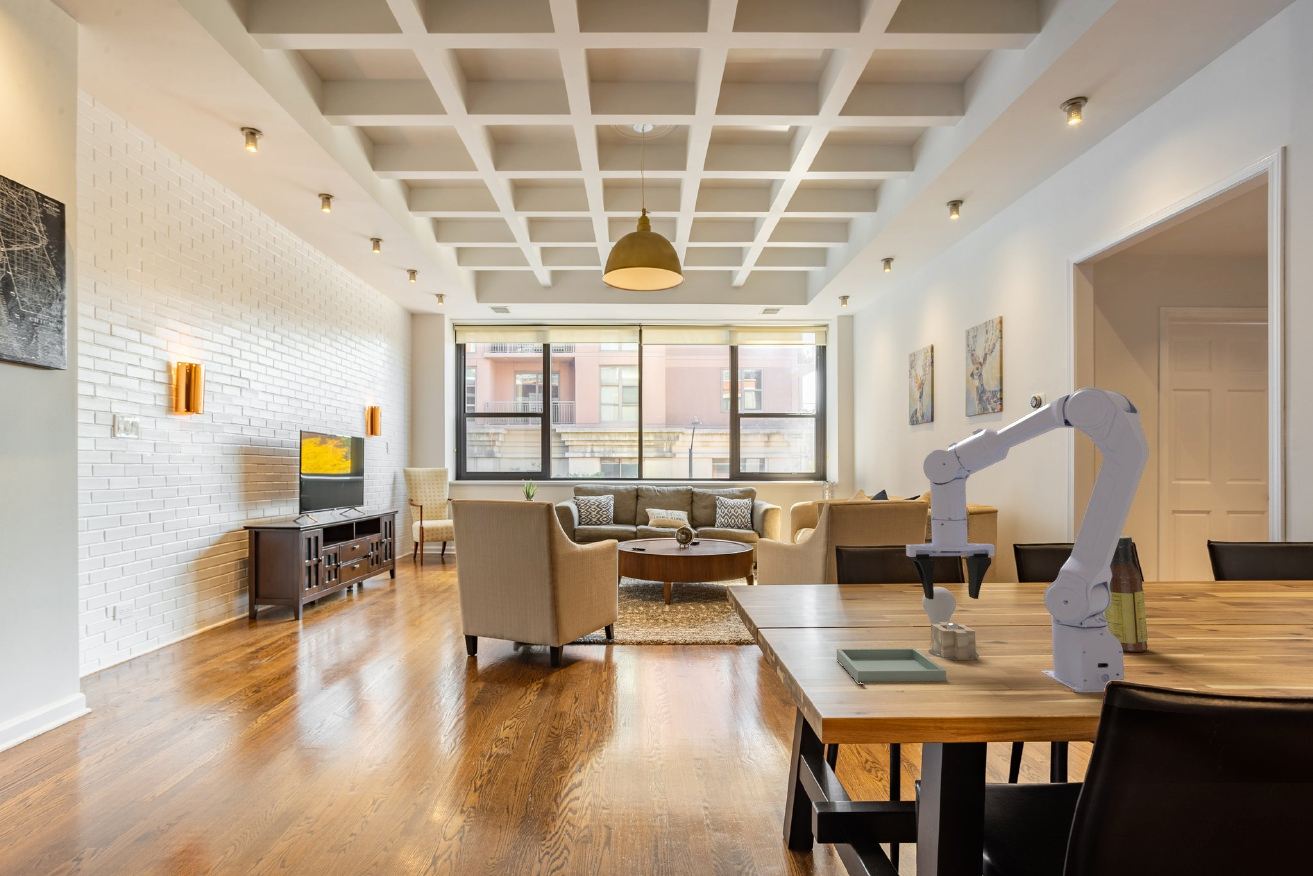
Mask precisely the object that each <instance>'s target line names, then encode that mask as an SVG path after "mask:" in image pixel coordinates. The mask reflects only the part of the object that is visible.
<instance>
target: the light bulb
mask: <svg viewBox="0 0 1313 876" xmlns="http://www.w3.org/2000/svg"><path fill="white" fill-rule="evenodd" d="M933 589H934V598H933V599H927V598H925V594H923V595H922V599H921V601H922V602H921V603H922V608H923V609H924V611H925V613H926V614H927V617H928V620H929V623H930V625H931V624H938V622H948V623H950V621H951V617H952V615H953V614H954V612H955V611H956V609H957V608H956V607H957V601H956V598H955V596H954V595H953V593H952V592H951V591H950V590H948V589H947V588H945V587H943V586H933Z"/></svg>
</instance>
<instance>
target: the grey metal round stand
mask: <svg viewBox="0 0 1313 876" xmlns="http://www.w3.org/2000/svg"><path fill="white" fill-rule="evenodd" d="M958 624H959V623H958V622H957V623H956V622H949V623H947V629H958ZM928 653H929V654H930V655H931V656H935V657H936V658H941V659H946V660H947V659H948V660H958V659H957V658H955V657H942V656H941V655H939V654H938V653H936V652H935V651H934V650H932V648H930V649H928ZM978 657H980V655H979V653H977V652H976V657H968V659H969V660H974V659H978Z"/></svg>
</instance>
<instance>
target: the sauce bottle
mask: <svg viewBox="0 0 1313 876" xmlns="http://www.w3.org/2000/svg"><path fill="white" fill-rule="evenodd" d="M1132 545H1133V538H1132V536H1130V535H1129V536H1128V535H1121V536H1120V539H1119V541H1118V544H1117V547H1116V550H1115V553H1114V556H1113V558H1112V561H1111V564H1110V569H1111V572H1112V578H1111V581H1110V592H1111V603H1110V606H1109V607H1108V609H1107V610H1106V611H1105V612H1104V615H1105V617H1106V620H1107V626H1108V630H1109V632H1110V633H1111V634H1112V635H1114V636H1115V637H1116V638H1117V639H1118V640H1119V642H1120V643H1121V645H1122V649H1123V652H1130V653H1131V652H1132V653H1139V652H1140V653H1141V652H1145V651H1147V650H1148V647H1149V646H1148V643H1147V642H1148V629H1147V618H1146V617H1147V615H1146V606H1145V603H1146V602H1145V596H1144V595H1145V593H1144V588H1143V578H1142V576H1141V574H1140V571H1139V569H1138V568H1137V567H1136V566H1135V564H1134V560H1133V554H1132Z"/></svg>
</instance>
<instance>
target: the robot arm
mask: <svg viewBox="0 0 1313 876" xmlns="http://www.w3.org/2000/svg"><path fill="white" fill-rule="evenodd" d="M1140 414H1141V411H1140V410H1139V409H1138V407H1136V406H1135V404H1134V403H1133V401H1131V400H1130V398H1128V396H1126V395H1124V394H1123V393H1121V392H1119V391H1114V390H1103V389H1101V388H1098V387H1093V386H1089V387H1082V388H1079V389H1078V390H1076V391H1074V392H1073V393H1072V394H1065V395H1062V396H1059V397H1057V398H1056V399H1054V400H1053V401H1051V402H1050V403H1047V404H1046V405H1043V406H1042V407H1039V408H1038V409H1036V410H1035V411H1033V412H1031V413H1029V414H1027V415H1025V416H1024V417H1022V418H1020V419H1018V420H1017V421H1015V422H1013V423H1011V424H1009V425H1006V426H1005V427H1003V428H1002V429H1000V430H995V429H993V428H985V429H983V428H977V429H975V430H972V435H971V436H969V437H967V438H965V439H963V440H961V441H959V442H951V443H949V444H948V449H947V450H945V449H934V450H933V451H931V452H930V453H929V454H928V455H927V456H926V457H925V458H924V461H923V464H922V465H923V466H922V467H923V468H922V469H923V473H924V475H925V477H926V479H928V480H929V487H930V488H929V489H930V491H929V492H930V519H931V521H930V522H931V523H930V524H931V542H930V543H919V544H917V543H916V544H915V543H914V544H906V545H905V554H906V557H909V558H910V561H911V563H912V564H913V567H914V568H915V570H916V573H917V574H918V577H919V579H920V582H921V585H922V588H923V592H924V594H925V598H927V599H933V598H934V589H933V587H934V571H935V570H934V569H935V564H936V561H935V560H933V559H932V558H931V557H958V556H959V557H962V556H963V557H964V559H965V564H966V565H965V566H966V570H967V577H968V580H967V581H968V582H967V583H968V596H969V598H971V599H973V600H979V596H980V590H981V586H982V583H983V580H984V578H985V575H986V574H987V571H988V569H989V568H990V566H991V564H992V558H991V557H995V556H996V555H995V553H996V552H995V544H991V543H968V541H969V540H968V516H967V493H966V492H967V491H966V489H967V486H966V484H967V481H968V479H969V478H970V476H971V475H973V474H975V473H977V472H979V471H982V470H984V469H986V468H989V467H991V466H992V465H995V464H997V463H999V462H1001V461H1003V460H1005V459H1006V458H1007V456H1008V454H1009V451H1010V449H1011V448H1013V447H1015V446H1018V445H1020V444H1022V443H1025V442H1027V441H1030V440H1032V439H1034V438H1037V437H1039V436H1041V435H1043V434H1044V435H1045V434H1046V433H1049V432H1051V431H1053V430H1056V429H1062V428H1064V429H1068V428H1069V429H1077V430H1078V431H1079V432H1082V433H1083V434H1084V435H1085V436H1087V437H1089V438H1090V439H1091V441H1092V443H1094V445H1095V446H1096V448H1097V449H1098V451H1099V452H1100V453H1101V454H1102V456H1103V459H1102V463H1101V466H1100V469H1099V470H1098V473H1097V476H1096V480H1095V483H1094V485H1093V489H1092V492H1091V495H1090V496H1089V500H1088V503H1087V505H1086V506H1087V507H1086V509H1085V512H1084V515H1083V518H1082V521H1081V524H1080V527H1079V530H1078V533H1077V536H1076V538H1075V542H1074V544H1073V546H1072V547H1073V548H1072V550H1071V553H1070V556H1069V557H1068V559H1067V560H1066V561H1065V562H1064V563H1063V565H1062V567H1060V570H1059V571H1058V575H1057V577H1056V579H1055V580H1054V581H1053V582H1052V583H1050V584H1049V585H1048V586H1047V588H1046V589H1045V591H1044V596H1043V602H1044V606H1045V608H1046V610H1047V612H1049V614H1050V615H1051V617H1050V619H1051V636H1052V637H1051V641H1052V643H1051V644H1052V661H1053V663H1052V664H1053V670H1041V673H1042V674H1044V675H1046V676H1048V677H1049V678H1052V679H1054V680H1055V681H1057V682H1059V683H1061V684H1063V685H1065V686H1066V687H1069V689H1071V690H1072V692H1075V693H1105V692H1104V688H1105V686H1106V683H1107V682H1108V681H1110V680H1124V681H1125V666H1124V665H1125V663H1124V651H1123V649H1122V645H1121V643H1120V642H1119V640H1118V639H1117V638H1116V637H1115V636H1114V635H1112V634H1111V633H1110V632H1109V630H1108V626H1107V620H1106V617H1105V615H1104V612H1105V611H1106V610H1107V609H1108V607H1109V606H1110V603H1111V592H1110V581H1111V578H1112V572H1111V569H1110V564H1111V561H1112V558H1113V556H1114V553H1115V550H1116V547H1117V544H1118V541H1119V539H1120V536H1122V532H1123V530H1124V527H1125V524H1126V522H1127V521H1126V520H1127V518H1128V516H1129V512H1130V510H1131V508H1132V505H1133V501H1134V498H1135V496H1136V493H1137V490H1138V488H1139V484H1140V482H1141V478H1142V477H1143V473H1144V471H1145V467H1146V464H1147V461H1148V460H1149V459H1148V458H1149V456H1150V447H1149V445H1148V442H1147V441H1148V440H1147V439H1146V435H1145V432H1144V429H1143V425H1142V422H1141V415H1140ZM924 594H923V595H924Z"/></svg>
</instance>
